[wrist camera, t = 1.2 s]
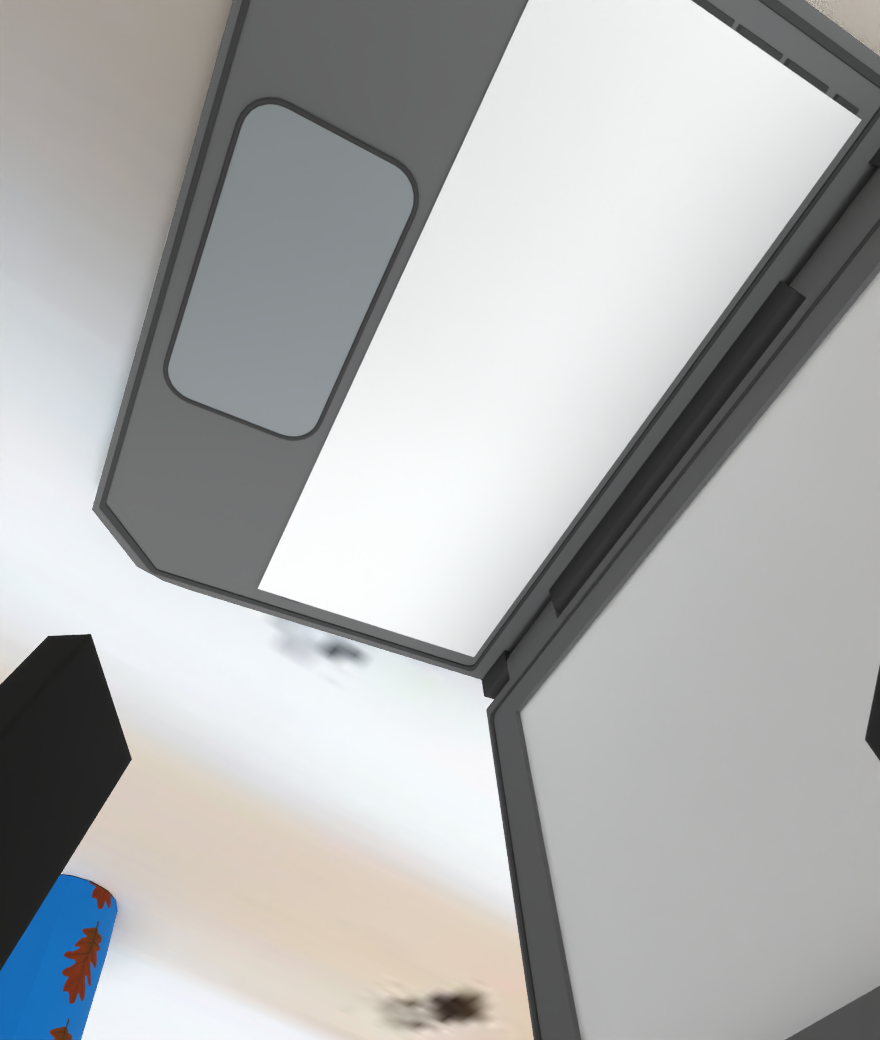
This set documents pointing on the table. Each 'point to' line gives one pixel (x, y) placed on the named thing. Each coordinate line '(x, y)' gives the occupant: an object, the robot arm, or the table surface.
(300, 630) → the table surface
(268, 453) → the laptop
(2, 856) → the robot arm
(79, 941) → the thermos
